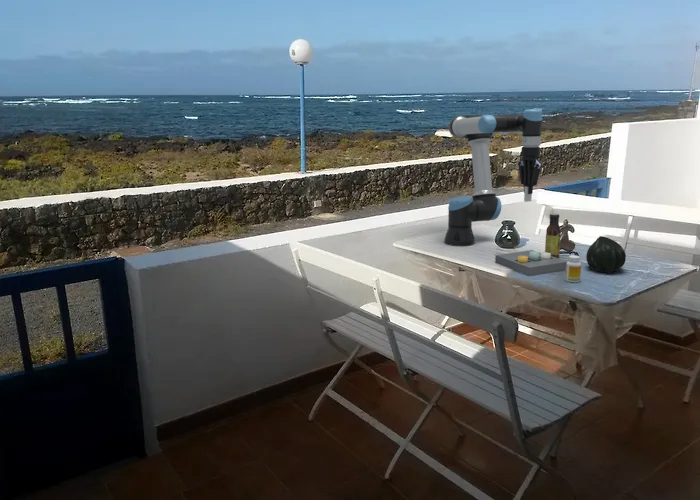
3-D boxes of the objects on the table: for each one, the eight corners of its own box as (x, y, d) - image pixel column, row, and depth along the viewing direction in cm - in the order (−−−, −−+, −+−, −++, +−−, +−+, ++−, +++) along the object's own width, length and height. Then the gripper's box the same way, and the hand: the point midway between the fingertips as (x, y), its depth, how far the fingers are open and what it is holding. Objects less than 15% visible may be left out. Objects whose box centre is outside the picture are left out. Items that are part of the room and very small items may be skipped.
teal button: (527, 260, 225) (527, 251, 224) (534, 259, 227) (535, 250, 226) (533, 263, 222) (534, 253, 221) (541, 261, 223) (541, 252, 222)
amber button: (515, 265, 223) (515, 256, 222) (523, 264, 225) (523, 255, 224) (521, 267, 220) (522, 258, 219) (529, 266, 221) (530, 257, 220)
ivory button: (538, 261, 228) (538, 252, 227) (545, 260, 229) (546, 251, 228) (544, 264, 224) (545, 254, 223) (552, 262, 226) (552, 253, 225)
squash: (639, 260, 212) (619, 228, 218) (615, 267, 206) (595, 234, 211) (614, 275, 224) (595, 245, 229) (590, 282, 217) (571, 251, 223)
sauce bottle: (560, 259, 236) (563, 215, 231) (545, 259, 237) (548, 215, 232) (557, 255, 242) (561, 213, 237) (543, 255, 243) (546, 212, 238)
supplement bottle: (583, 281, 205) (585, 257, 202) (571, 283, 203) (573, 259, 201) (573, 277, 210) (575, 254, 207) (562, 279, 208) (563, 255, 205)
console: (495, 262, 233) (495, 255, 232) (531, 257, 240) (532, 249, 239) (529, 275, 213) (529, 267, 212) (567, 269, 220) (568, 261, 219)
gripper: (513, 146, 230) (511, 199, 235) (534, 147, 218) (530, 204, 224) (527, 145, 232) (524, 198, 238) (548, 146, 220) (544, 202, 226)
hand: (527, 201), depth 231 cm, fingers closed
